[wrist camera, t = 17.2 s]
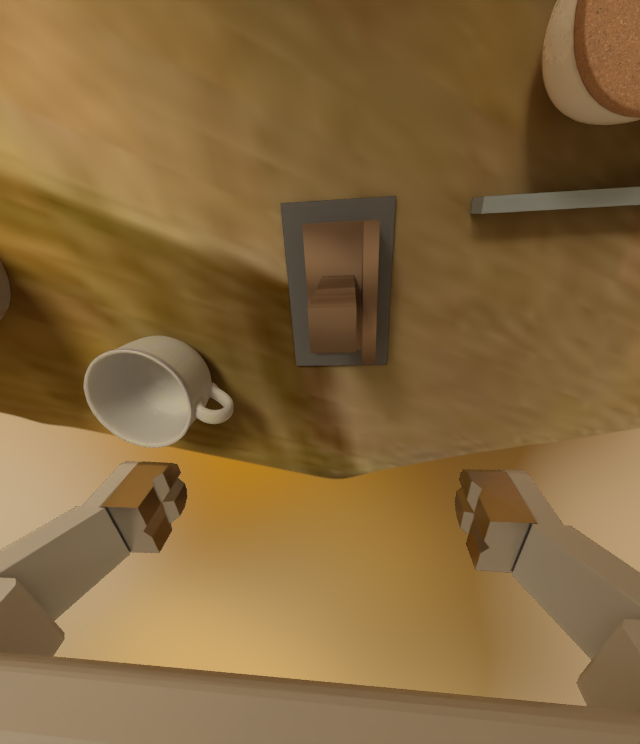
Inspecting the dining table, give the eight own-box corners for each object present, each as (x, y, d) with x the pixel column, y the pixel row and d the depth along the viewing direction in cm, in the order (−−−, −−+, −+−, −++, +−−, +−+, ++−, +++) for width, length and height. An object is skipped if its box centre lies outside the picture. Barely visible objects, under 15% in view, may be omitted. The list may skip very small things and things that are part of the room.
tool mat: (281, 203, 27) (280, 203, 27) (395, 196, 26) (395, 195, 26) (297, 364, 35) (296, 365, 34) (386, 363, 34) (386, 364, 33)
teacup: (128, 385, 38) (77, 424, 31) (139, 307, 33) (82, 333, 26) (233, 426, 40) (208, 472, 33) (259, 358, 35) (235, 395, 28)
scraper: (303, 223, 28) (274, 229, 17) (375, 219, 27) (392, 223, 16) (312, 346, 33) (294, 409, 22) (372, 345, 32) (383, 409, 22)
